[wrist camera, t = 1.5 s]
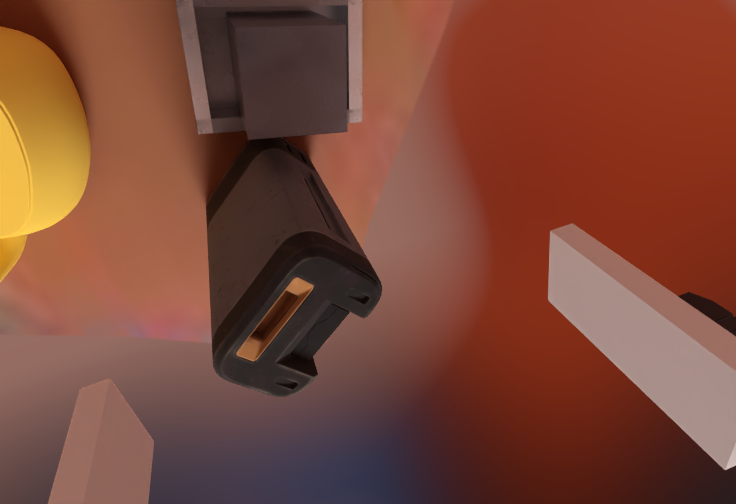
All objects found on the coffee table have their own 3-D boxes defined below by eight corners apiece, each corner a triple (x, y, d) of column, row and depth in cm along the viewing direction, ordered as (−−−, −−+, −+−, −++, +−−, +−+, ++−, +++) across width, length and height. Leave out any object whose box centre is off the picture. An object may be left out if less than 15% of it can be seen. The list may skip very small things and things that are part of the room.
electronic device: (258, 242, 44) (295, 408, 28) (198, 211, 41) (199, 377, 25) (318, 160, 42) (397, 288, 26) (259, 121, 39) (306, 237, 22)
